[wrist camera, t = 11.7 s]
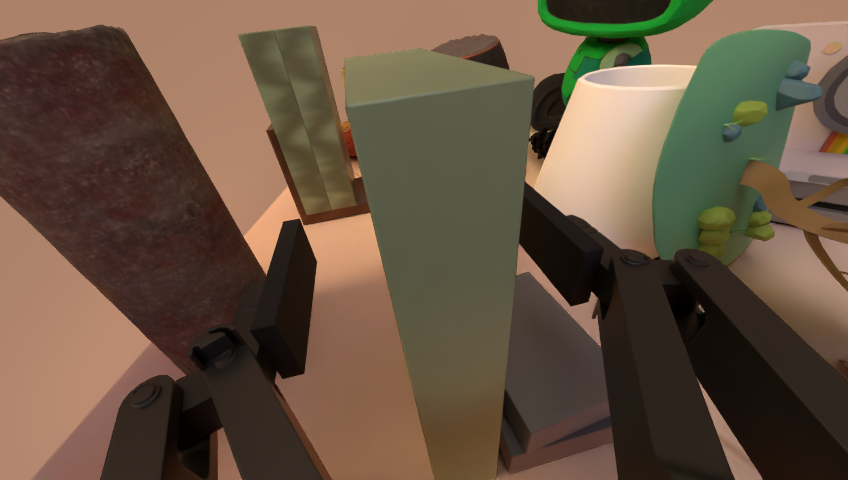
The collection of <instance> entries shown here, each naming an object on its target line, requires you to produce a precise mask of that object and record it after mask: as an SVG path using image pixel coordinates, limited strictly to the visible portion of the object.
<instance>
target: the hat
mask: <svg viewBox="0 0 848 480" xmlns="http://www.w3.org/2000/svg"><path fill="white" fill-rule="evenodd" d="M431 51H433V52H437V53H441V54H446V55H450V56H454V57H458V58H462V59H466V60H470V61H474V62H478V63H483V64H487V65H491V66H495V67H499V68H503V69H507V70H509V65H508V63H507V59H506V56H505V53H504V50H503V48H502V45H501V43H500V40H499V39H498V38H497V37H495V36H488V35H484V34H481V35H479V36H475V35H474V36H471V37H469V36H467V37H464V38H462V39H456V40H450V41H448V42H447V43H444V44H441V45H440V46H438V47H436V48H434V49H433V50H431Z"/></svg>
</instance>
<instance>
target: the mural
mask: <svg viewBox="0 0 848 480" xmlns="http://www.w3.org/2000/svg"><path fill="white" fill-rule="evenodd" d="M841 363H842V364H843V365H844V366H845V367H846V368H847V370H848V362H842V361H841Z"/></svg>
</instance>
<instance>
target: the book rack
mask: <svg viewBox="0 0 848 480" xmlns="http://www.w3.org/2000/svg"><path fill="white" fill-rule="evenodd" d="M238 37H239V40H240V42H241V45H242V47H243V50H244V53H245V55H246V58H247V60H248V63H249V65H250V68H251V71H252V74H253V76H254V79H255V81H256V84H257V87H258V89H259V92H260V94H261V97H262V100H263V102H264V105H265V107H266V110H267V113H268V115H269V118H270V120H271V125H270V126H269V127H268V129H267V130H266V132H267V134H268V136H269V139H270V141H271V144H272V146H273V149H274V152H275V154H276V157H277V159H278V162H279V164H280V167H281V169H282V172H283V174H284V177H285V179H286V182H287V184H288V187H289V189H290V192H291V194H292V197H293V199H294V202H295V204H296V207H297V209H298V212H299V214H300V217H301V219H302V222H303V224H304V225H306V224H311V223H316V222H321V221H326V220H331V219H336V218H341V217H346V216H351V215H357V214H362V213H367V212H370V209H369V205H368V200H367V196H366V192H365V188H364V184H363V180H362V177H360V178H355V176H354V173H353V169H352V165H351V161H350V157H349V153H348V149H347V145H346V141H345V137H344V133H343V129H342V125H341V121H340V118H339V114H338V110H337V106H336V102H335V98H334V94H333V90H332V86H331V82H330V78H329V74H328V70H327V66H326V63H325V59H324V55H323V51H322V47H321V43H320V39H319V35H318V31H317V27H315V26H300V27H292V28H284V29H276V30H269V31H261V32H252V33H244V34H238Z"/></svg>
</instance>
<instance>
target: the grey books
mask: <svg viewBox="0 0 848 480" xmlns="http://www.w3.org/2000/svg"><path fill="white" fill-rule="evenodd" d="M611 442H613V434H612V426H611V418H610V411H609V403H608V395H607V387H606V379H605V371H604V363H603V356H602V348H601V347H600V346H599V345H598V344H597V343H596V342H595V341H594V340H593V339H592V338H591V337H590V336H589V335H588V334H587V333H586V332H585V331H584V329H583V328H582V327H581V326H580V325H579V324H578V323H577V322H576V321H575V320H574V319H573V318H572V317H571V316H570V315H569V314H568V313H567V312H566V311H565V310H564V308H563V307H562V306H561V305H560V304H559V303H558V302H557V301H556V300H555V299H554V298H553V297H552V296H551V295H550V294H549V293H548V292H547V291H546V290H545V289H544V287H543V286H542V285H541V284H540V283H539V282H538V281H537V280H536V279H535V278H534V277H533V276H532V275H531V274H530V273H529V272H526V273H523V274H520V275H517V276H516V277H515V287H514V298H513V308H512V318H511V329H510V339H509V349H508V360H507V370H506V380H505V391H504V401H503V411H502V422H501V432H500V442H499V448H500V451H501V453H502V456H503V459H504V462H505V464H506V467H507V470H508V472H509V474H512V473H515V472H518V471H522V470H525V469H528V468H531V467H534V466H537V465H541V464H544V463H547V462H550V461H553V460H557V459H560V458H563V457H566V456H569V455H573V454H576V453H579V452H582V451H585V450H589V449H592V448H595V447H598V446H601V445H604V444H608V443H611Z"/></svg>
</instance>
